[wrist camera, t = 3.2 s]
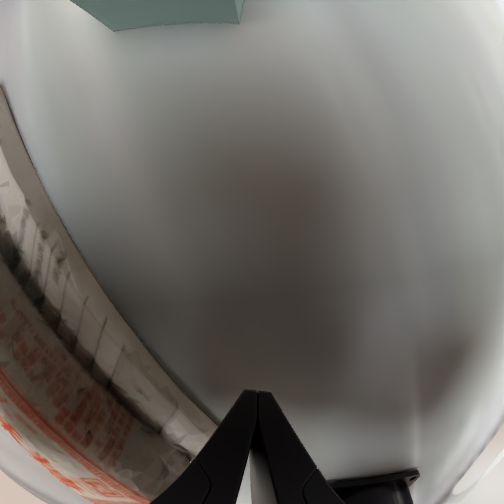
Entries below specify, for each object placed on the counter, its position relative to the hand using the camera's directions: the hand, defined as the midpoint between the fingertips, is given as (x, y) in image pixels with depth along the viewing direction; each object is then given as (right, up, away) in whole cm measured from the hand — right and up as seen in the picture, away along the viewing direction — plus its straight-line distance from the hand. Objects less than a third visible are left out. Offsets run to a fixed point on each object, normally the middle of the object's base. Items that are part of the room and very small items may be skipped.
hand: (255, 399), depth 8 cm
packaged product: (-10, +2, +2) cm, 10 cm away
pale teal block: (-2, +14, -3) cm, 14 cm away
